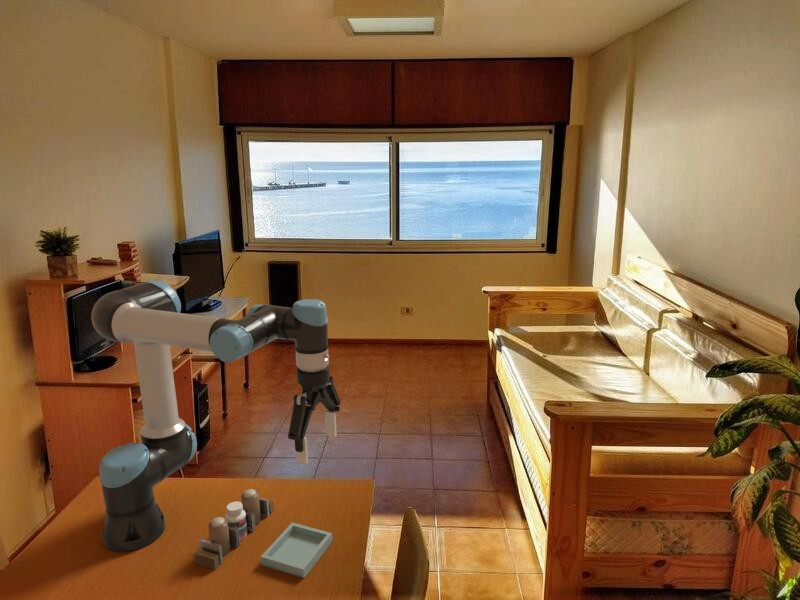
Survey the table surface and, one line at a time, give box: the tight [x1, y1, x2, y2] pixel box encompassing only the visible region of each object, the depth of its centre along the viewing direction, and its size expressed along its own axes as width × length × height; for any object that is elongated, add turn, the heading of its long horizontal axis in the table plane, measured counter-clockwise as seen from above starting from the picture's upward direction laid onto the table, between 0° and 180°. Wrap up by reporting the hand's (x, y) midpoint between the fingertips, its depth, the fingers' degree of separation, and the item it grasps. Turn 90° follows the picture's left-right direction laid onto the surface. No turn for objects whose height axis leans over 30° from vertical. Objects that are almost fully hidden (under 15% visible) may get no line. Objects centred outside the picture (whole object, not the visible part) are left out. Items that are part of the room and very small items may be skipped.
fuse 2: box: [240, 488, 262, 526], centre depth 156 cm, size 5×5×9 cm
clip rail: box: [193, 496, 275, 571], centre depth 150 cm, size 6×25×5 cm, turn 158°
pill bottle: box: [224, 501, 248, 541], centre depth 150 cm, size 5×5×9 cm
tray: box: [260, 522, 334, 579], centre depth 144 cm, size 12×14×2 cm
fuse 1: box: [208, 516, 231, 558], centre depth 144 cm, size 5×5×9 cm
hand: (317, 448), depth 139 cm, fingers open, 13 cm apart
